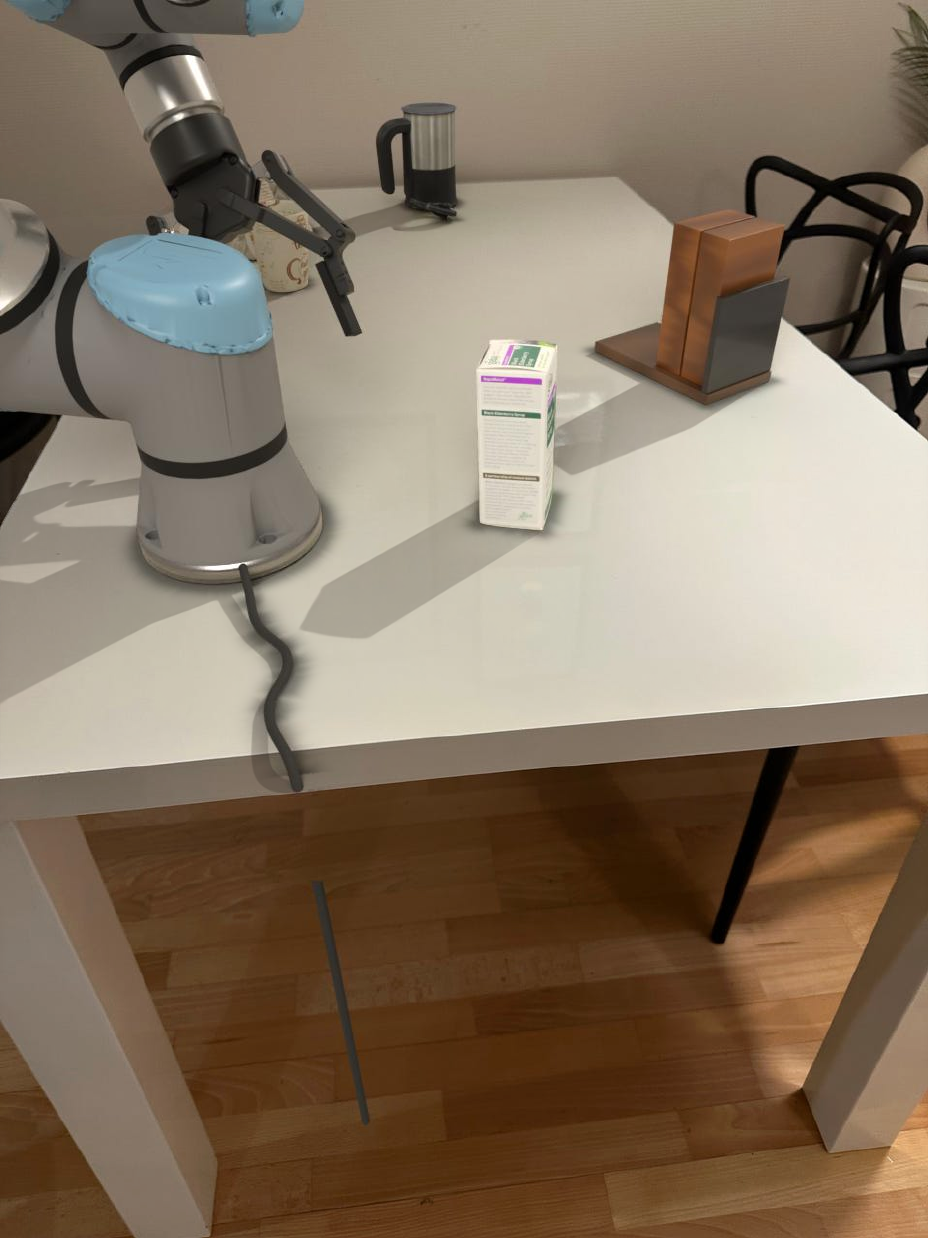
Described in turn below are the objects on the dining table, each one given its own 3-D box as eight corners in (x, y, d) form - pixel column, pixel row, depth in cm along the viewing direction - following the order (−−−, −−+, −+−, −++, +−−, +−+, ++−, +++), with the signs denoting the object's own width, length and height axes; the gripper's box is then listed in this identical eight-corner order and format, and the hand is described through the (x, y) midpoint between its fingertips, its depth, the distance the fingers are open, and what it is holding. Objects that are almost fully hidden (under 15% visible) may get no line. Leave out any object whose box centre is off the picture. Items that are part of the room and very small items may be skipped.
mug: (281, 300, 120) (270, 221, 113) (225, 279, 126) (212, 204, 120) (328, 283, 124) (320, 207, 118) (272, 264, 131) (261, 191, 125)
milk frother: (434, 193, 160) (431, 98, 150) (496, 210, 151) (496, 111, 141) (372, 209, 152) (364, 111, 143) (432, 229, 143) (428, 125, 134)
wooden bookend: (769, 381, 98) (803, 226, 88) (706, 405, 94) (733, 245, 84) (655, 331, 110) (673, 188, 99) (594, 351, 105) (606, 204, 95)
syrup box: (544, 532, 76) (552, 370, 67) (476, 525, 77) (475, 365, 68) (552, 497, 80) (561, 340, 71) (488, 491, 81) (488, 336, 72)
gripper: (325, 70, 77) (420, 308, 82) (102, 200, 85) (201, 412, 90) (290, 45, 70) (397, 307, 75) (51, 190, 78) (161, 419, 83)
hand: (290, 365), depth 82 cm, fingers open, 13 cm apart
